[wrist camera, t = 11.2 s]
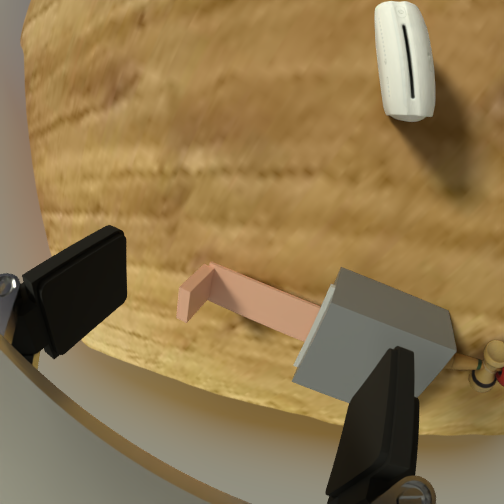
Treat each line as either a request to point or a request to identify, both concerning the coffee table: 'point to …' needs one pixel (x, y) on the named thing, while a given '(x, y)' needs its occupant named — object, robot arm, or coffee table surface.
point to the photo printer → (404, 61)
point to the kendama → (482, 366)
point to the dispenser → (371, 336)
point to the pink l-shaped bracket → (246, 300)
